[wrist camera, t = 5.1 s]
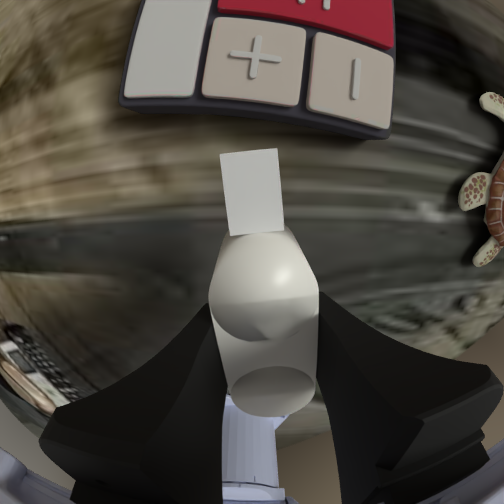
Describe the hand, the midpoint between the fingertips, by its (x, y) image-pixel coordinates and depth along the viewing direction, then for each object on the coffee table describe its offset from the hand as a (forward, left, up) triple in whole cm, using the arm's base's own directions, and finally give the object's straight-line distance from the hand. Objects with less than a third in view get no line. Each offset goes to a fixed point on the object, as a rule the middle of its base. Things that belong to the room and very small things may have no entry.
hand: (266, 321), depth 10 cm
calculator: (+12, +5, -9) cm, 16 cm away
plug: (+1, +1, -2) cm, 2 cm away
